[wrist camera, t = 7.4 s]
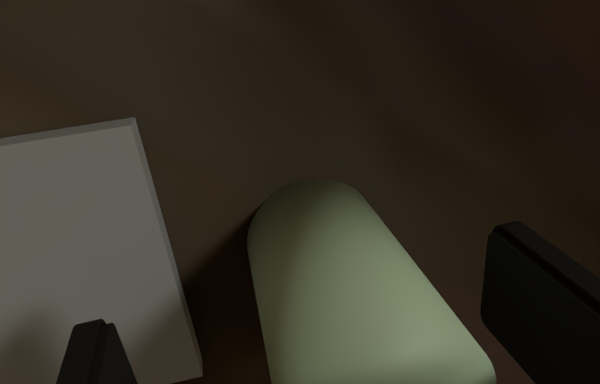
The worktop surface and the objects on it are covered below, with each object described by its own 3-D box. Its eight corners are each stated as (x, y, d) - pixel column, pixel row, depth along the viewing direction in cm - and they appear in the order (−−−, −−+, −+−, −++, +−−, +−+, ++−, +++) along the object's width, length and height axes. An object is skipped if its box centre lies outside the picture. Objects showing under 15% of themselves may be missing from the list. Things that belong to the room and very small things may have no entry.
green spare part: (372, 167, 14) (505, 306, 8) (377, 278, 16) (487, 459, 10) (236, 192, 14) (267, 363, 8) (257, 304, 16) (296, 515, 9)
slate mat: (134, 117, 12) (131, 125, 11) (202, 358, 16) (202, 376, 15) (-242, 176, 11) (-272, 189, 10) (-70, 422, 15) (-83, 444, 14)
